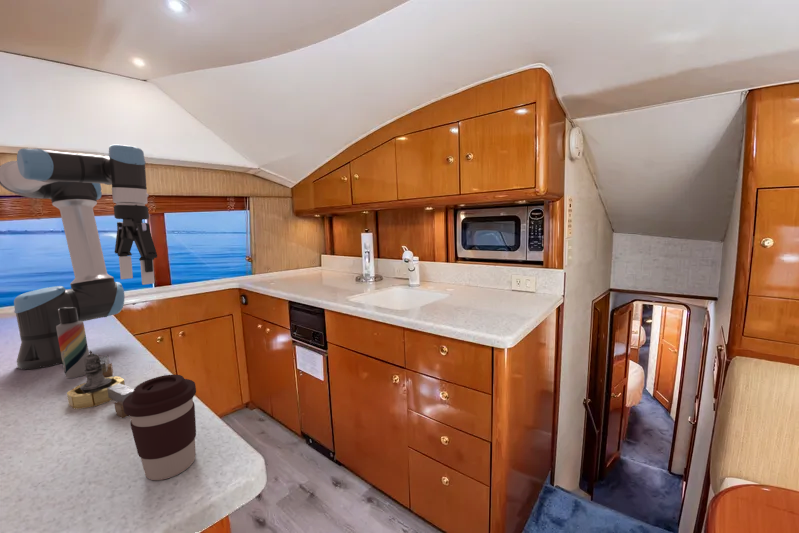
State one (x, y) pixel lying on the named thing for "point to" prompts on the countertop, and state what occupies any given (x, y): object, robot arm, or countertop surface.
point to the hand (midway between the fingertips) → (137, 281)
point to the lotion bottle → (72, 342)
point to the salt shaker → (94, 375)
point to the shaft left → (106, 366)
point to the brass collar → (90, 395)
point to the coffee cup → (163, 424)
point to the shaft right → (119, 397)
